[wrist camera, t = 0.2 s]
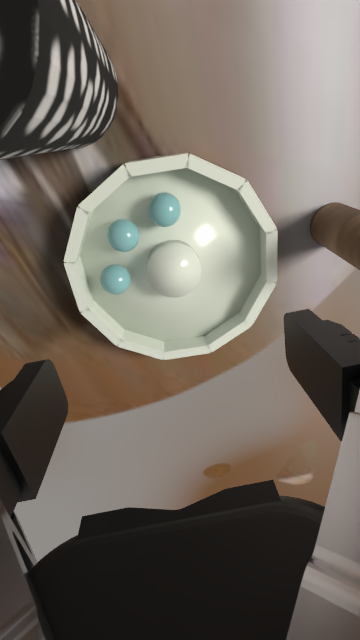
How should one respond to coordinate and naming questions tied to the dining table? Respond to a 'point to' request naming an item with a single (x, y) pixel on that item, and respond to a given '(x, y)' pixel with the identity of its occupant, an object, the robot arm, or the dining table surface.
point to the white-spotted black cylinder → (52, 79)
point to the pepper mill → (338, 231)
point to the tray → (172, 256)
